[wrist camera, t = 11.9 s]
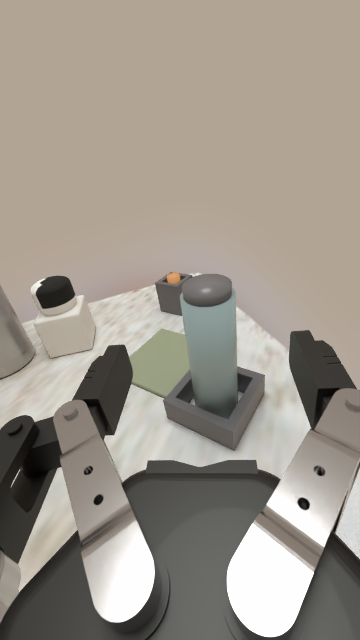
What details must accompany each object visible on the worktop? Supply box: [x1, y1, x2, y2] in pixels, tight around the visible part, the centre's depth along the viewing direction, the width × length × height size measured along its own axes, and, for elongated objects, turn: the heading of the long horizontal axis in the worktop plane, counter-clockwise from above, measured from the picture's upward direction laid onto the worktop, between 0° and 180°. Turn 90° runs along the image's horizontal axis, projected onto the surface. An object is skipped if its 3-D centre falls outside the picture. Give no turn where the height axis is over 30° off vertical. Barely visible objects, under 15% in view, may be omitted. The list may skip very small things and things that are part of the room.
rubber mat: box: [129, 329, 190, 398], centre depth 41 cm, size 12×12×1 cm
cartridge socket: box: [163, 367, 265, 450], centre depth 32 cm, size 8×8×3 cm
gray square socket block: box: [155, 272, 192, 316], centre depth 53 cm, size 5×5×6 cm
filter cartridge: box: [180, 274, 238, 420], centre depth 29 cm, size 5×5×16 cm
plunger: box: [167, 273, 181, 284], centre depth 53 cm, size 2×2×6 cm
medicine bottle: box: [30, 276, 96, 358], centre depth 46 cm, size 7×7×12 cm
